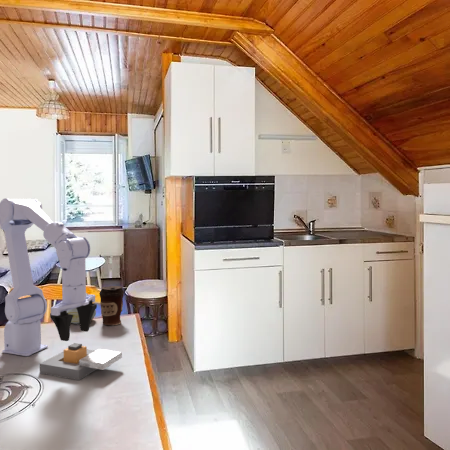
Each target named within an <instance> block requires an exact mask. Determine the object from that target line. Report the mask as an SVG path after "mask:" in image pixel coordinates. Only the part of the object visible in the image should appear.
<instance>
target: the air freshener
mask: <svg viewBox="0 0 450 450" xmlns="http://www.w3.org/2000/svg"><path fill="white" fill-rule="evenodd" d="M86 295H89V293H87V292H86ZM96 310H97V309H95V311H94V313H93V316H92V319H91V321H92V320H93V319H94V318H95V317H96V314H97V311H96ZM67 313H68V314H71V315H73V318H72V321H71V324H73V325H80V323H79V315H78V311H77V308H74V309H72V310H69V311H67Z"/></svg>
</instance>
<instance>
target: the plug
mask: <svg viewBox="0 0 450 450" xmlns="http://www.w3.org/2000/svg"><path fill="white" fill-rule="evenodd" d="M87 347H88V346H86V345H83V344H82V343H76V342H73V343H72V344H70V345H68V346H67V347H66V348H65V349H63V351H64V362H69V363H75V364H78V363H79V360H80V359H82V358H84V357H85V356H87Z"/></svg>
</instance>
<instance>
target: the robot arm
mask: <svg viewBox="0 0 450 450" xmlns="http://www.w3.org/2000/svg"><path fill="white" fill-rule="evenodd" d="M33 225H35V226H36V227H38V228H39V230H41V231H42V232H43V234H42V235H43V237H44V239H45V240H46V242H48V243H49V244H50V245H52V247H54V249H55V250H56V251H55V252H56V255H57V258H58V260H59V266H60V268H61V279H62V280H61V284H62V287H61V289H62V290H61V291H62V300H61V301H60V302H59V303H57V304H55V305H53V306H52V307H50V315H49V318H50V319H51V320H52V322H53V323H54V325H55V327H56V330H57V332H58V336H59V339H60V341H62V342H63V341H64V342H68V341H70V334H71V324H72V323H71V321H72V318H73V315H71V314H68V313H67V311H69V310H72V309H74V308H77V311H78V315H79V323H80V324H79V329H80V332H86V333H87V332H89V329H90V326H91V321H92V320H93V319H92V316H93V313H94V311H95V310H97V308H98V305H97V303H95V302H96V295H95V294H89V293H88V295H86V293H87V289H86V288H87V285H86V283H87V281H86V280H87V279H86V276H87V273H86V269H87V267H86V258H88V257H89V256H90V252H91V244H90V242H89V241H88V239H87V238H86V237H85V236H78V235H76V234H75V233H74V232H72V231H71V230H70V229H68V228H67V227H66V226H65V224H64V223H63V222H62V221H53V220H52V219H51V218H50V216H49V215H48V214H47V213H46V212H45V211H44V210H43V204H42V202H40V201H39V200H38V199H37V198H7V197H6V198H2V200H1V201H0V229H1V230H3V233H4V238H5V243H6V244H5V245H6V249H7V250H6V251H7V255H8V256H7V257H8V263H9V268H10V273H11V279H12V287H13V288H12V289H11V290H10V292H9V293H8V294H6V296H5V297H4V299H5V307H4V313H5V317H6V320H8V321H7V322H6V323H5V326H4V330H3V337H4V338H3V339H4V341H3V342H4V345H3V347H4V349H3V350H1V352H2V353H4V354H11V355H18V356H23V357H30V356H32V355H34V354H35V353H37V352H40V351H42V350H44V349H46V348H49V345H47V344H42V334H41V333H42V331H41V328H42V327H41V326H42V325H41V324H42V323H41V319H43V317H44V315H45V314H46V312H47V309H48V303H47V300H46V298H45V296H44V292H43V290H42V288H40V287H38V286H36V285H35V284H34V280H33V275H32V274H33V273H32V267H31V263H30V257H29V251H28V245H27V240H26V231H27V230H28V229H29V228H30V229H31V227H32V226H33ZM25 296H27V297H25ZM21 297H22V298H21ZM91 319H92V320H91Z"/></svg>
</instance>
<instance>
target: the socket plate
mask: <svg viewBox="0 0 450 450" xmlns="http://www.w3.org/2000/svg"><path fill="white" fill-rule="evenodd" d="M94 351H95V350H93V349H87V355H89V354H91V353H93V352H94ZM96 370H97V369H95V368H89V367H83V366H79V363H78V364H75V363H69V362H64V350H62V352H60V353H58V354H56V355H53V356H52V357H50V358H48V359H46V360H43V361H42V362H40V363H39V374H41V375H47V376H51V377H53V376H54V377H59V378H64V379H65V378H66V379H70V380H75V381H80V380H82V379H83V378H85V377H87V376H88V375H90V374H91V373H93V372H94V371H96Z"/></svg>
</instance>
